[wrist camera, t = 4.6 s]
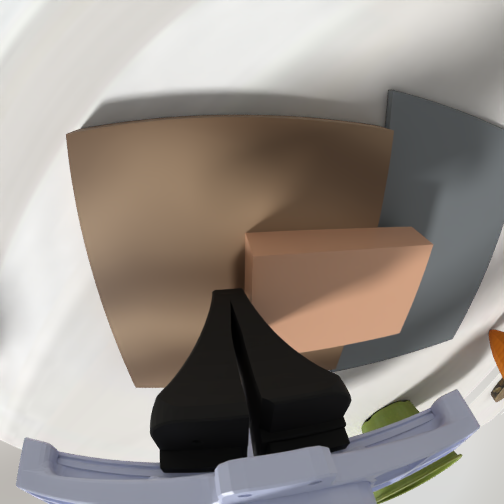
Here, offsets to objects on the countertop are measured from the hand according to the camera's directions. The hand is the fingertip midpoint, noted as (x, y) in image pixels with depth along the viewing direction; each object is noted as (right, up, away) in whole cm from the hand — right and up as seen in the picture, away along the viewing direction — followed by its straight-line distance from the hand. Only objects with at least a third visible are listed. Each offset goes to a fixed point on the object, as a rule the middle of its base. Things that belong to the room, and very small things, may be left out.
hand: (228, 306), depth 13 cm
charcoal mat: (+14, +2, +5) cm, 15 cm away
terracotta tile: (+5, +1, +2) cm, 6 cm away
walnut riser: (0, +1, +2) cm, 3 cm away
